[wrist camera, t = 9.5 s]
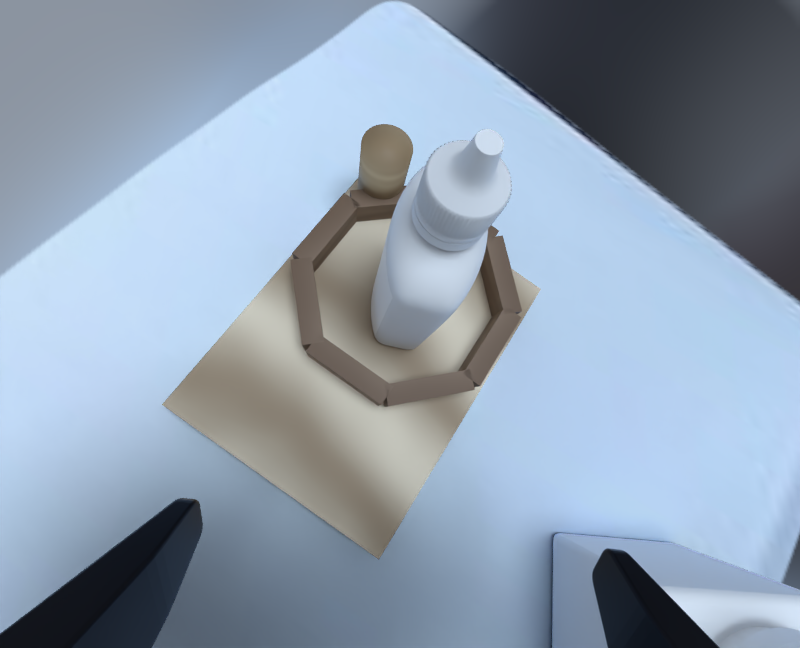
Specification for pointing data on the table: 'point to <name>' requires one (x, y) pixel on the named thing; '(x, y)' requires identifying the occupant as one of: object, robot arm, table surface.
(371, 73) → the table surface
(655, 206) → the table surface
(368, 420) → the board
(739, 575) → the medicine bottle
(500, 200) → the eye dropper bottle
